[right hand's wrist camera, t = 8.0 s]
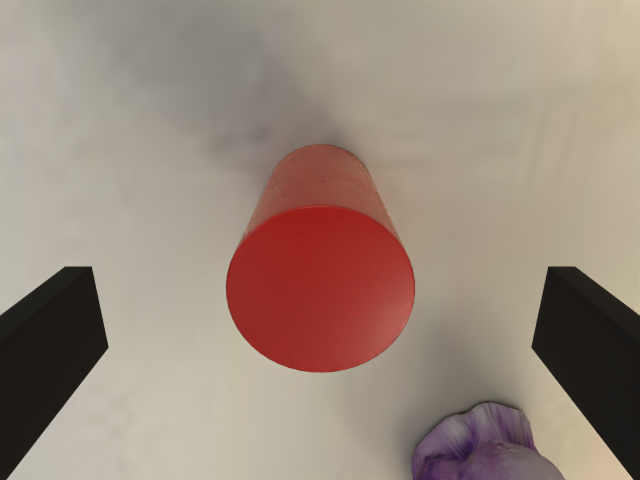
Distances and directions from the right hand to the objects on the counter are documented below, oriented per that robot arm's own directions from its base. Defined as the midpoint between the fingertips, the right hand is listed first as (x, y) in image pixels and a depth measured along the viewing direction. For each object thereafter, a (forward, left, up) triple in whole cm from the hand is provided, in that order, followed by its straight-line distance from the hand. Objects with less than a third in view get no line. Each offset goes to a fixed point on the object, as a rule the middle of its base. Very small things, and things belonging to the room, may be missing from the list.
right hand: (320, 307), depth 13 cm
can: (0, 0, -12) cm, 12 cm away
